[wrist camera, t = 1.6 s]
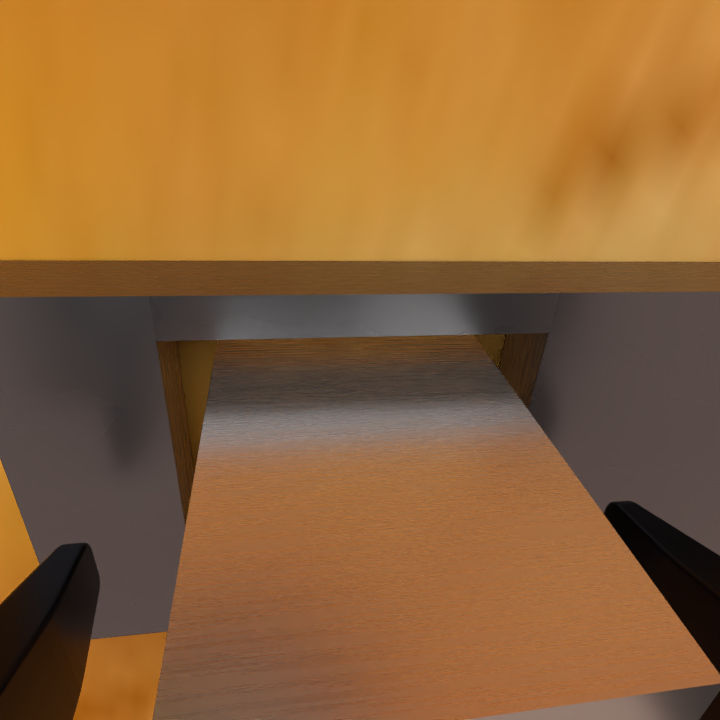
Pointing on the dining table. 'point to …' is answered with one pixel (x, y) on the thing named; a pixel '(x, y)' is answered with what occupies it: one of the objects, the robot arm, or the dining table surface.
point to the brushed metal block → (404, 553)
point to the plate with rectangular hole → (327, 320)
